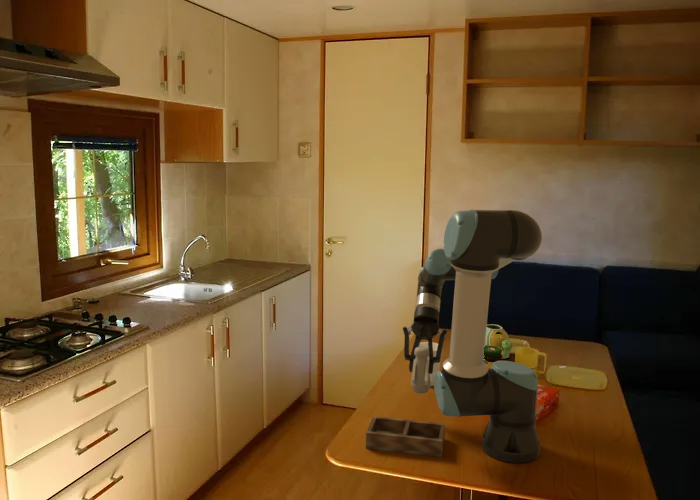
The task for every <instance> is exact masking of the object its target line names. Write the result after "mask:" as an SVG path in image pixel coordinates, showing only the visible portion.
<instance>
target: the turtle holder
mask: <svg viewBox="0 0 700 500" xmlns="http://www.w3.org/2000/svg"><path fill="white" fill-rule="evenodd" d="M496 334H501V335H502V338H501V339H500V338H497V337H496ZM510 340H511V339H510V337H509V334H508V332H507V331H505V329H504V328H503V327H502V326H501V325H499V324H493V323H491V324H487V327H486V337H485V345H490V346H496V347H500V348H502V350H503V359H502V360H507V359H506V358H509V357H510V353H511V350H512V348H513V347H514V346H513V343H512V341H510ZM509 359H510V358H509Z"/></svg>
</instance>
